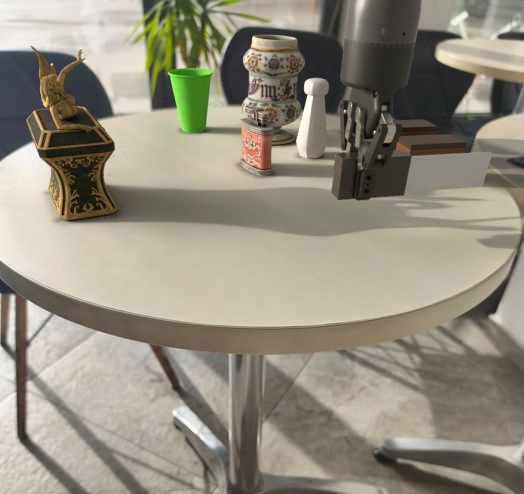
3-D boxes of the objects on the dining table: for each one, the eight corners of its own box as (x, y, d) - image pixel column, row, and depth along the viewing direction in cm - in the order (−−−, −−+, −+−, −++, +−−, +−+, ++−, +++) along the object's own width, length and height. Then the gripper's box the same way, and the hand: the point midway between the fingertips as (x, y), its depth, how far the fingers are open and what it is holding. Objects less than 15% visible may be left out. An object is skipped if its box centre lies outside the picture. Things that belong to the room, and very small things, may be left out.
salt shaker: (290, 152, 96) (294, 76, 88) (315, 149, 98) (321, 75, 90) (305, 161, 92) (311, 83, 83) (331, 157, 94) (339, 80, 86)
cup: (189, 137, 102) (185, 77, 95) (164, 128, 107) (159, 70, 100) (223, 130, 107) (221, 73, 100) (198, 121, 112) (195, 66, 105)
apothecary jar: (311, 140, 103) (320, 38, 92) (269, 150, 96) (272, 42, 85) (272, 127, 110) (275, 31, 98) (229, 136, 103) (228, 35, 92)
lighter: (276, 173, 86) (278, 111, 80) (259, 176, 84) (260, 113, 78) (252, 160, 91) (253, 101, 85) (236, 163, 90) (236, 103, 84)
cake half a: (442, 171, 89) (451, 134, 85) (456, 181, 85) (467, 142, 81) (390, 174, 87) (398, 136, 83) (403, 184, 83) (411, 144, 79)
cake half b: (417, 154, 97) (424, 119, 93) (429, 162, 93) (437, 126, 89) (369, 156, 95) (375, 120, 91) (379, 164, 91) (386, 128, 87)
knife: (476, 183, 68) (487, 145, 65) (487, 189, 66) (498, 151, 63) (331, 192, 64) (335, 152, 61) (337, 200, 62) (342, 159, 59)
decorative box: (128, 217, 70) (104, 57, 58) (57, 228, 67) (15, 60, 54) (100, 172, 84) (76, 36, 72) (40, 180, 81) (4, 38, 68)
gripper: (444, 44, 48) (407, 214, 59) (386, 28, 59) (363, 174, 69) (373, 44, 47) (348, 218, 57) (326, 28, 57) (312, 177, 68)
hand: (357, 193), depth 63 cm, fingers closed on knife, 2 cm apart
